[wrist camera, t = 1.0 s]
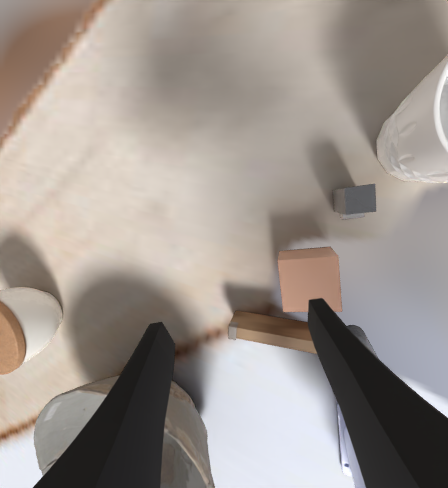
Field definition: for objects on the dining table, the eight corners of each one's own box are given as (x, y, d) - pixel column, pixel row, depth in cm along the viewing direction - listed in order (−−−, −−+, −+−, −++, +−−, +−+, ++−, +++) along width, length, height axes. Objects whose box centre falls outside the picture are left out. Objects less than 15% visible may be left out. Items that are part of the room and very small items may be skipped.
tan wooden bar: (332, 325, 24) (339, 346, 21) (330, 337, 24) (337, 360, 21) (235, 309, 27) (227, 326, 23) (235, 320, 27) (227, 338, 24)
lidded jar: (24, 266, 36) (-64, 289, 27) (78, 293, 34) (2, 328, 25) (20, 322, 39) (-60, 360, 30) (70, 351, 36) (-1, 400, 28)
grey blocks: (365, 344, 24) (383, 381, 19) (341, 344, 24) (353, 379, 20) (357, 186, 21) (376, 183, 16) (331, 190, 22) (342, 188, 17)
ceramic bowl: (89, 416, 38) (23, 488, 29) (120, 305, 32) (48, 350, 22) (205, 497, 34) (172, 610, 25) (267, 389, 28) (255, 486, 18)
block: (333, 293, 24) (342, 311, 20) (284, 294, 25) (283, 311, 21) (330, 246, 23) (338, 256, 19) (279, 250, 24) (277, 260, 21)
